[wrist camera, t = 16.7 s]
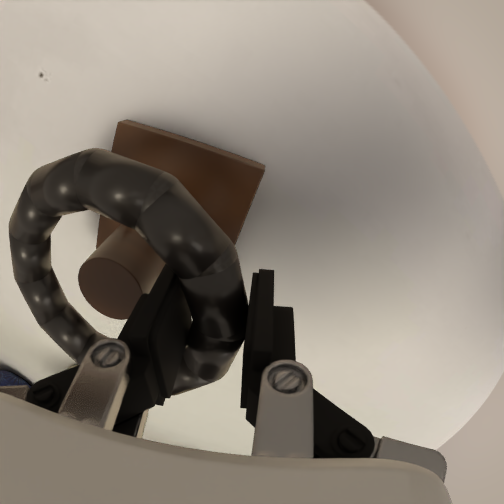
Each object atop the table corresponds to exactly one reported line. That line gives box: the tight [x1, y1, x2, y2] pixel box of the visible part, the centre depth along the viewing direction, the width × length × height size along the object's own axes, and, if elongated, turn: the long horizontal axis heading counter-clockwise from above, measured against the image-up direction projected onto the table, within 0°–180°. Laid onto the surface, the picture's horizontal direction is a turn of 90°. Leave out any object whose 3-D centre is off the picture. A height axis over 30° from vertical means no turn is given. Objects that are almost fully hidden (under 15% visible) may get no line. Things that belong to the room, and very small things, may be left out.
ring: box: [9, 148, 249, 395], centre depth 12 cm, size 11×11×2 cm
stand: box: [78, 120, 265, 320], centre depth 16 cm, size 9×9×9 cm
